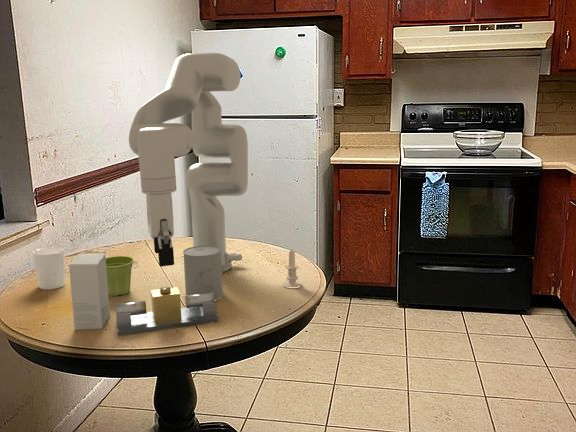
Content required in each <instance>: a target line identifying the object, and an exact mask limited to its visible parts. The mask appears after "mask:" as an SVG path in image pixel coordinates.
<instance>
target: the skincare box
mask: <svg viewBox="0 0 576 432" xmlns="http://www.w3.org/2000/svg"><path fill="white" fill-rule="evenodd" d="M106 256H107V255H106V252H98V253H95V252H94V253H78V254H76V256H75V257H74V258H73V259H72V261H70V263H69V264H68V270H69V280H70V281H69V282H70V292H71V293H70V294H71V302H72V303H71V304H72V305H71V306H72V315H73V326H74V327H73V328H74V330H75V331H80V330H83V331H84V330H85V331H86V330H103V328H104V327H105V325H106V322H107V321H108V319H109V318H110V315H111V314H110V301H109V295H108V286H107V271H106V258H107V257H106Z"/></svg>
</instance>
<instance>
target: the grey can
mask: <svg viewBox="0 0 576 432" xmlns="http://www.w3.org/2000/svg"><path fill="white" fill-rule="evenodd" d="M182 254H183V265H184V286H185V288H184V289H185V296H187V295H195V294H204V293H212V292H213V293H214V298H215V300H217V299H219V298H221V297H222V295H223V296H224V292H223V276H222V275H223V272H222V268H221V249H220V248H218V247H215V246H195V247H193V246H191V247H187V248H185V249H184V250H183V251H182ZM222 298H223V297H222ZM222 298H221V299H222ZM217 301H218V300H217Z"/></svg>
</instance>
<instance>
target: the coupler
mask: <svg viewBox="0 0 576 432" xmlns="http://www.w3.org/2000/svg"><path fill="white" fill-rule="evenodd" d="M150 293H151V294H150V295H151V297H150V298H151V312H152V313H153V318H154V321H155V322H159V321H167V320H174V319H181V308H182V305H181V304H182V303H181V301H182V300H181V293H180V290H179V288H178V287H177V286H176V287H170V286H162V287H160V288H159V289H151V290H150Z"/></svg>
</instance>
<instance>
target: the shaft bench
mask: <svg viewBox="0 0 576 432" xmlns="http://www.w3.org/2000/svg"><path fill="white" fill-rule="evenodd" d="M216 302H217V301H215V298H214V293H213V292H212V293H204V294H195V295H187V296H186V295H184V305H185V306H184V307H181V319H174V320H167V321H159V322H155V321H154V318H153V313H152V311H147V303H146V300H140V301H131V302H124V303H123V302H121V303H115V317H116V327H117V336H126V335H132V334H133V335H134V334H140V333H147V332H153V331H154V332H155V331H162V330H169V329H176V328H184V327H191V325H192V326H197V325H205V324H212V323H211V322H213V323H218V322H219V317H218V316H217V308H216V307H217V304H216ZM217 321H218V322H217Z"/></svg>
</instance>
